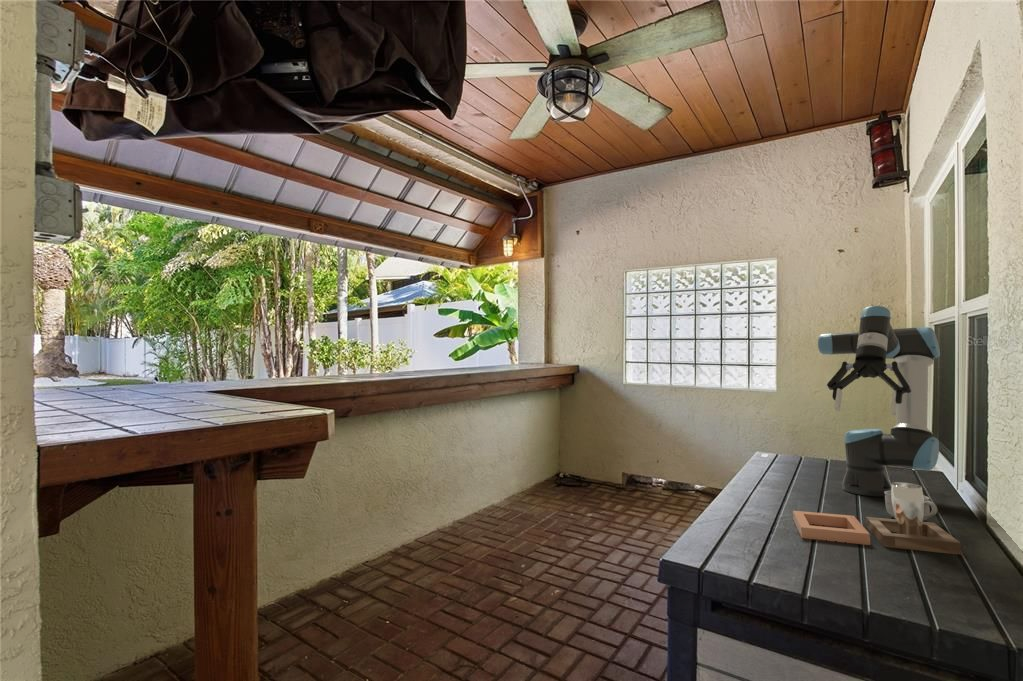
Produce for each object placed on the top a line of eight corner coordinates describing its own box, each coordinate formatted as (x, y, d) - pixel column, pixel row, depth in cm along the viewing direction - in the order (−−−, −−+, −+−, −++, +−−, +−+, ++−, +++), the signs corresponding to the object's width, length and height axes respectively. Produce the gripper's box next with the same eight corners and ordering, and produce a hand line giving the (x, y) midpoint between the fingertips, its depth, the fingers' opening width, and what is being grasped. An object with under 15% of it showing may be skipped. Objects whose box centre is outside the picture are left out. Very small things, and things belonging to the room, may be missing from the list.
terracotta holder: (793, 520, 147) (792, 510, 148) (854, 525, 141) (853, 515, 141) (801, 537, 133) (801, 527, 133) (870, 545, 126) (869, 533, 126)
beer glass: (933, 545, 125) (929, 488, 126) (903, 544, 126) (899, 488, 127) (916, 535, 132) (912, 482, 133) (888, 534, 133) (884, 481, 134)
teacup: (877, 514, 150) (875, 489, 151) (911, 514, 150) (910, 488, 150) (913, 530, 136) (911, 502, 137) (951, 529, 136) (949, 501, 137)
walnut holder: (866, 527, 140) (865, 516, 140) (934, 533, 133) (933, 522, 133) (884, 546, 125) (883, 535, 125) (961, 554, 119) (960, 542, 119)
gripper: (821, 345, 153) (812, 402, 145) (921, 342, 135) (916, 408, 127) (828, 356, 157) (819, 413, 149) (926, 356, 139) (922, 420, 131)
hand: (864, 411), depth 138 cm, fingers open, 13 cm apart
